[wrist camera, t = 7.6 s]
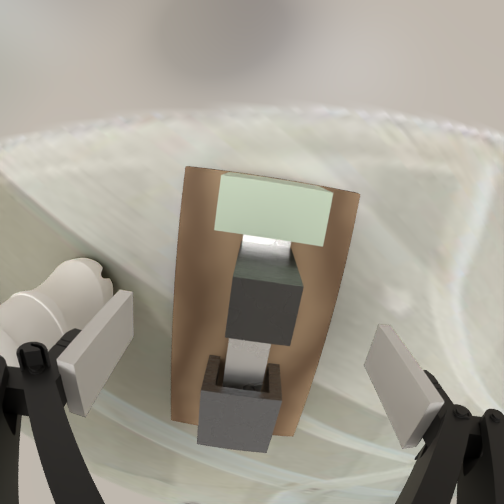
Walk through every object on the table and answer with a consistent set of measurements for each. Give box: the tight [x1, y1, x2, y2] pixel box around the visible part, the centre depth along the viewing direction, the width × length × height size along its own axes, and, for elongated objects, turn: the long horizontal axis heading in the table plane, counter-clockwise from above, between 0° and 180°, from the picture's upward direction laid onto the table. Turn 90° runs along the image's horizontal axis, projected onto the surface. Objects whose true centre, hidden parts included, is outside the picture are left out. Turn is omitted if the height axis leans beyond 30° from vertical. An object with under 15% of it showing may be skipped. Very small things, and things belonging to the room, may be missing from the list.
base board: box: [171, 166, 360, 436], centre depth 33 cm, size 16×31×1 cm, turn 171°
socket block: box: [214, 172, 333, 247], centre depth 25 cm, size 8×4×6 cm, turn 82°
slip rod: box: [223, 235, 304, 392], centre depth 25 cm, size 4×21×12 cm, turn 171°
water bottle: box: [0, 258, 113, 367], centre depth 20 cm, size 7×7×25 cm
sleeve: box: [197, 355, 282, 453], centre depth 31 cm, size 8×8×6 cm
